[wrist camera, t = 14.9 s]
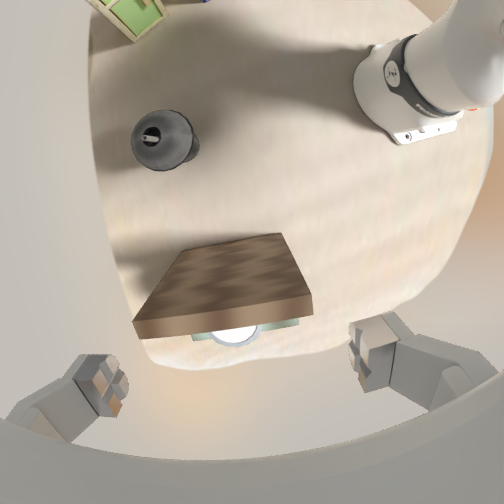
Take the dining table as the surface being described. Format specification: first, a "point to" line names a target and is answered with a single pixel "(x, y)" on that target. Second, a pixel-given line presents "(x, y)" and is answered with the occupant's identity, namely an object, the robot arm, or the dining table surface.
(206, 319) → the wall shelf
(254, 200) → the dining table surface
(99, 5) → the toy refrigerator
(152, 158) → the beverage cup
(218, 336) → the white cup
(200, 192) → the dining table surface
